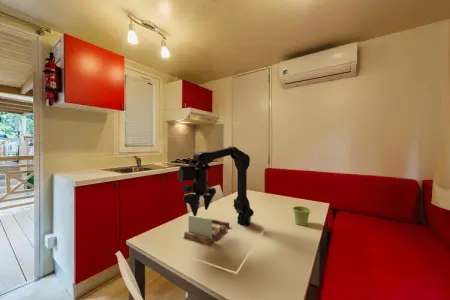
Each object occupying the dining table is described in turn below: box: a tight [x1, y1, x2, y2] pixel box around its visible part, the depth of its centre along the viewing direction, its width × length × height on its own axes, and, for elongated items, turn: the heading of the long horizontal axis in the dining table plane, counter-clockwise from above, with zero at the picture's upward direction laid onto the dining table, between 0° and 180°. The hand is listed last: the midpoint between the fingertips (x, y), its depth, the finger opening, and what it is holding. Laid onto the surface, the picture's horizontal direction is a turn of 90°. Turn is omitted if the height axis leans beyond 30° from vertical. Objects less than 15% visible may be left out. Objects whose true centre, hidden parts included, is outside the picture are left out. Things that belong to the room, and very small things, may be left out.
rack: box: [182, 218, 231, 247], centre depth 93 cm, size 15×21×3 cm
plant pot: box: [292, 205, 312, 227], centre depth 107 cm, size 9×9×9 cm
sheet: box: [188, 214, 213, 241], centre depth 87 cm, size 12×2×10 cm, turn 64°
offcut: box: [212, 224, 220, 234], centre depth 92 cm, size 5×2×4 cm, turn 64°
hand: (200, 212), depth 87 cm, fingers open, 9 cm apart
